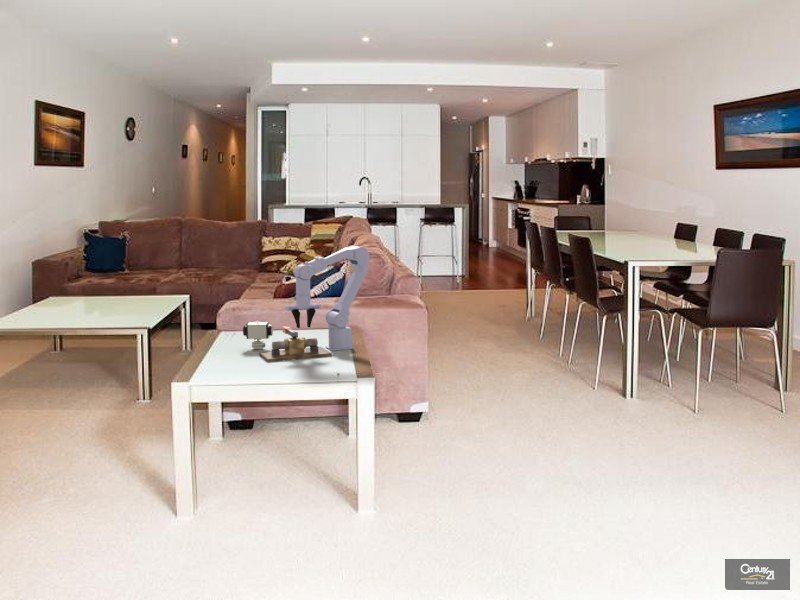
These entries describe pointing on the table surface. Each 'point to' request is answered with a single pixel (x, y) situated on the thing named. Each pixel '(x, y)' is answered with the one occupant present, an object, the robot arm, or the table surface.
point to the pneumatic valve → (258, 333)
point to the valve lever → (290, 332)
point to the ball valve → (294, 350)
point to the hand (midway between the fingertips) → (303, 327)
